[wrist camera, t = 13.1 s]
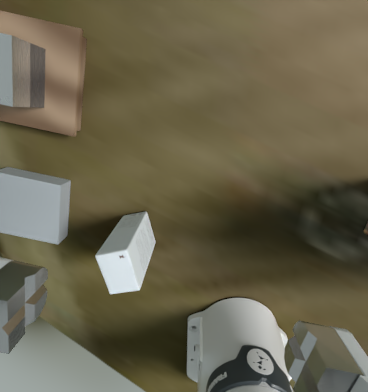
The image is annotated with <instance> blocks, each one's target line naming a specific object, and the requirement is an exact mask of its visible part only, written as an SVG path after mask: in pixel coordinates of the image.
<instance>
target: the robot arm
mask: <svg viewBox="0 0 368 392" xmlns="http://www.w3.org/2000/svg"><path fill="white" fill-rule="evenodd" d="M47 279H48V271H47V269H46V268H45V267H41V266H37V265H32V264H28V263H24V262H20V261H15V260H14V261H13V260H10V259H5V258H1V257H0V352H1V353H7V354H9V353H10V352H11V350H12V349H13V348H14V347H15V345H16V344H17V343H18V341H19V340H20V339H21V338H22V336H23V335H24V334H25V326H26V325H28V324H30V323H32V322H34V321H35V320H36V319H37V317H38V316H39V315H40V313H41V311H42V309H43V307H44V305H45V302H46V298H47V289H46V288H45V286H44V285H43V283H44V282H45V281H46V280H47ZM293 332H294V335H295V336H294V337H292V338H291V339H289V340H288V339H287V335H286V334H285V333H284V332H283V331H282V330H281V329H280V328H279V327H278V325H277V323H276V320H275V317H274V316H273V314H272V312H271V311H270V310H269V309H268V308H267V307H265V306H264V305H263V304H261V303H259V302H257V301H254V300H251V299H246V298H229V299H225V300H222V301H219V302H217V303H215V304H213V305H212V306H210V307H209V308H207V309H206V310H204V311H202V312H198V313H195V314H192V315H190V316H189V317H188V323H187V376H188V377H189V378H191V379H192V380H193V381H195V382H197V383H198V392H293V390H294V392H368V357H367V355H366V354H365V352H364V351H363V349H362V348H361V347H360V345H359V344H358V342H357V341H356V339H355V338H354V336H353V335H352V334H351V333H350V332H349V331H348V330H346V329H341V328H336V327H331V326H330V327H328V326H324V325H319V324H314V323H309V322H304V321H298V322H297V323H296V324H295V326H294V328H293ZM291 379H293V380H294V381H295V385H294V388H293V390H292V387H291V386H290V383H289V382H290V380H291Z"/></svg>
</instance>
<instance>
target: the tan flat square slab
mask: <svg viewBox="0 0 368 392" xmlns="http://www.w3.org/2000/svg"><path fill="white" fill-rule="evenodd" d="M0 33H4V34H8V35H12V36H15V37H17V38H20V39H22V40H24V41H27V42H29V43H32V44H34V45H37V46H39V47H42V48H44V49H46V52H45V100H44V108H38V107H11V106H7V105H2V104H0V121H4V122H9V123H14V124H18V125H23V126H28V127H32V128H37V129H42V130H46V131H51V132H55V133H60V134H65V135H69V136H76V131H80V130H81V116H82V101H83V87H84V72H85V58H86V43H87V39H86V38H84V37H83V30H82V29H81V28H76V27H72V26H67V25H63V24H58V23H54V22H49V21H45V20H40V19H35V18H31V17H26V16H22V15H17V14H13V13H8V12H4V11H0Z"/></svg>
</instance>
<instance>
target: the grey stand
mask: <svg viewBox="0 0 368 392" xmlns="http://www.w3.org/2000/svg"><path fill="white" fill-rule="evenodd" d="M70 184H71V180H67V179H62V178H58V177H53V176H48V175H43V174H39V173H34V172H29V171H25V170H20V169H15V168H11V167H6V168H3V169H0V232H1V233H6V234H10V235H15V236H20V237H25V238H29V239H34V240H39V241H44V242H49V243H53V244H59V243H60V242H61V241H62V240H63V239H64V238H66V237H67V234H68V217H69V201H70Z"/></svg>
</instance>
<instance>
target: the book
mask: <svg viewBox="0 0 368 392" xmlns="http://www.w3.org/2000/svg"><path fill="white" fill-rule="evenodd" d="M363 232H364V233H365V234H367V235H368V222H367V224H366V227H365V229H364V231H363Z"/></svg>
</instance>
